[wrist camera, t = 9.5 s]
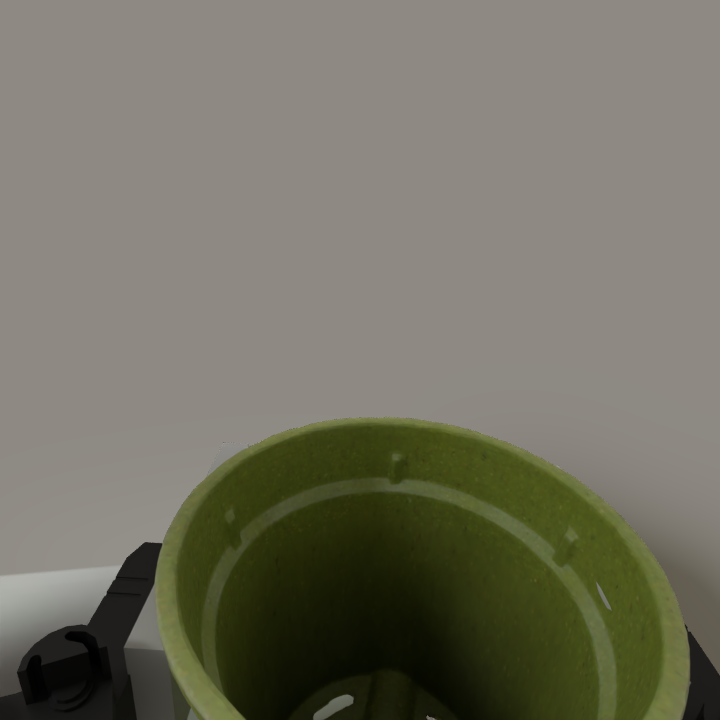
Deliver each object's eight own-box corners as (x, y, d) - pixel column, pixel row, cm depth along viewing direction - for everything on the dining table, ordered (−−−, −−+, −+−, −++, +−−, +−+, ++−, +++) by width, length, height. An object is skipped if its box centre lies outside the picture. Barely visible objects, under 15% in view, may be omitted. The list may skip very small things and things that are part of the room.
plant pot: (315, 1342, 7) (364, 1151, 4) (138, 738, 14) (99, 479, 11) (641, 856, 12) (782, 597, 9) (397, 591, 19) (425, 388, 16)
